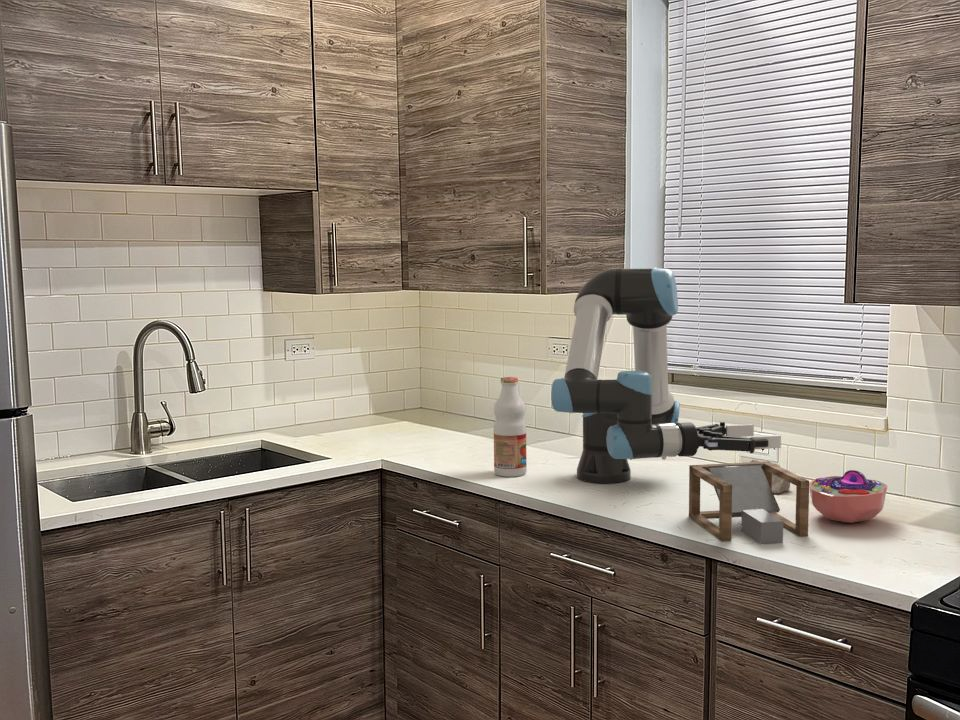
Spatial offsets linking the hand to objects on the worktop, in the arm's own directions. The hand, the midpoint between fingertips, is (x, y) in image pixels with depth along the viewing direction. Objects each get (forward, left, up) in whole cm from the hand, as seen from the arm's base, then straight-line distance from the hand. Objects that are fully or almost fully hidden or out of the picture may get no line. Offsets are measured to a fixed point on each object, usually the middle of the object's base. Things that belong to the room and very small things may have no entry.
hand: (766, 435), depth 211 cm
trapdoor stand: (-3, -3, -21) cm, 22 cm away
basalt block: (+1, -4, -19) cm, 20 cm away
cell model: (-3, +22, -22) cm, 31 cm away
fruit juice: (-65, -47, -22) cm, 83 cm away
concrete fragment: (-35, +17, -22) cm, 45 cm away
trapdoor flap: (-5, -3, -14) cm, 15 cm away
